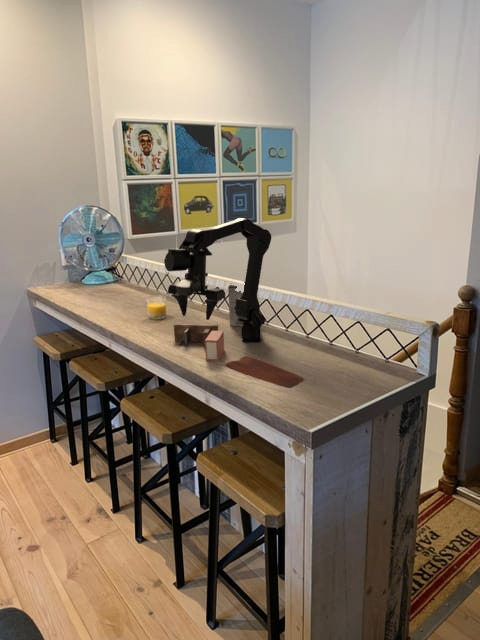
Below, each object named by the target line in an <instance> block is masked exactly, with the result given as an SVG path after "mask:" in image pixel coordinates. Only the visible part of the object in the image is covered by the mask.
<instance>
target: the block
mask: <svg viewBox="0 0 480 640" xmlns="http://www.w3.org/2000/svg"><path fill="white" fill-rule="evenodd" d="M224 334H225V333H224V330H218V331H211V333H210V334H209V335H208V337H207V338H206V340H205V346H204V347H205V361H208V362H210V361H212V362H219V361H220V359H221V357H222V355H223V353H224V352H225V335H224Z"/></svg>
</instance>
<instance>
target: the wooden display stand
mask: <svg viewBox="0 0 480 640" xmlns="http://www.w3.org/2000/svg"><path fill="white" fill-rule="evenodd" d="M187 328H190V336H191V342H203V346H204V347H205V340H206V338H207V337H208V335H209V334H210V333H211V331H219V324H217V323H215V324H209V323H208V324H205V323H174V324H173V332H174V333H173V334H174V341H175V342H176V341H177V342H180V341H181V342H182V341H183V340H185V338H184V332H185V331H186V329H187Z"/></svg>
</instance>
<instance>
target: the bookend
mask: <svg viewBox="0 0 480 640" xmlns="http://www.w3.org/2000/svg"><path fill="white" fill-rule="evenodd" d="M184 338H185V340H183V341H181V342H180V343H179V344H178V345H179V346H182V347H183V346H184V347H185V346H187V347H188V346H189V344H191V342H192V341H191V336H190V328H187V329H186V331H185V332H184Z"/></svg>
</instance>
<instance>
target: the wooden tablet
mask: <svg viewBox="0 0 480 640" xmlns="http://www.w3.org/2000/svg"><path fill="white" fill-rule="evenodd" d="M224 366H226V367H228V368H230V369H233V370H235V371H236V372H240V373H243V374H246V375H248V376H250V377H254V378H257V379H259V380H262V381H265V382H268V383H271V384H274V385H277V386H281V387H284V388H292V387H296V386H298V385H300V384H301V383H303V382H304V381H305V380H306V379H305V378H304V377H303V376H300V375H298V374H296V373H295V372H292V371H288V370H286V369H283V368H281V367H279V366H277V365H273V364H271V363H269V362H268V361H267V362H266V361H263V360H261V359H257V358H255V357H252V356H248V355H244V356H242V357H241V358H240V359H239V360H231V361H228V362H226V363H225V364H224Z"/></svg>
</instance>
